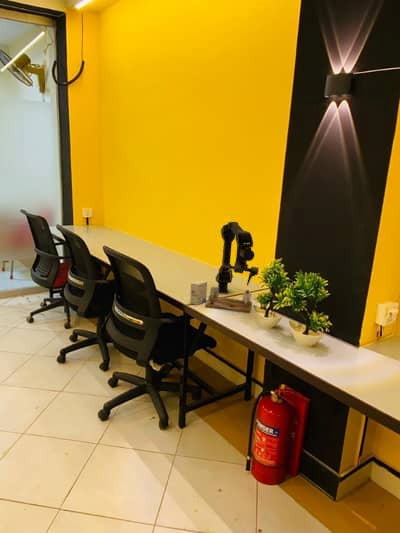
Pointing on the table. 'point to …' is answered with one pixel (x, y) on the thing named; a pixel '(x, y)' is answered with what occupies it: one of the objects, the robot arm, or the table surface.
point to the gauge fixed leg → (214, 293)
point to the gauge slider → (246, 296)
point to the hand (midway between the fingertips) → (238, 284)
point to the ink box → (198, 292)
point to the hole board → (229, 304)
